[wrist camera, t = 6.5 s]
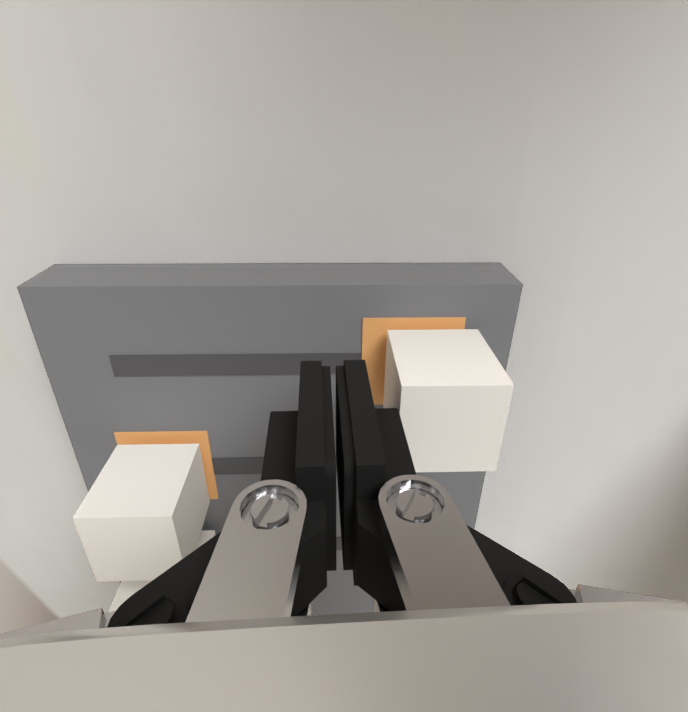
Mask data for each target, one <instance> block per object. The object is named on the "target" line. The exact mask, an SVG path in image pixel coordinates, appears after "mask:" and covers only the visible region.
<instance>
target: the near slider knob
mask: <svg viewBox="0 0 688 712" xmlns="http://www.w3.org/2000/svg"><path fill="white" fill-rule="evenodd" d="M513 390H514V384H513V382H512V381H511V379H510V378H509V376H508V375H507V373H506V372H505V370H504V368H503V367H502V365H501V364H500V362H499V361H498V359H497V358H496V356H495V355H494V353H493V352H492V350H491V349H490V347H489V346H488V344H487V342H486V341H485V339H484V338H483V336H482V335H481V333H480V332H479V330H478V329H437V330H387V344H386V362H385V380H384V398H383V408H397V409H398V411H399V414H400V418H401V421H402V425H403V428H404V432H405V436H406V439H407V443H408V446H409V450H410V454H411V457H412V461H413V465H414V468H415V472H472V471H496V470H497V465H498V460H499V455H500V451H501V446H502V441H503V437H504V432H505V427H506V423H507V418H508V413H509V409H510V404H511V399H512V394H513Z"/></svg>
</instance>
